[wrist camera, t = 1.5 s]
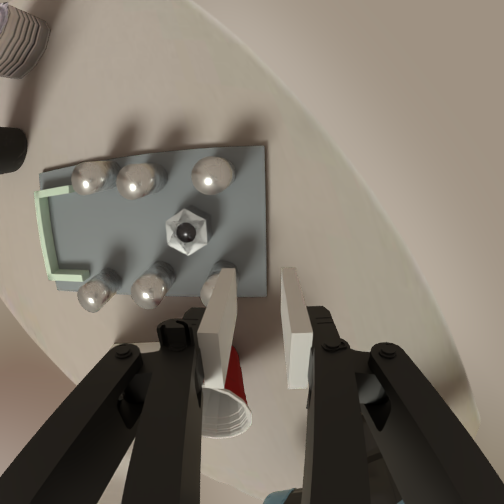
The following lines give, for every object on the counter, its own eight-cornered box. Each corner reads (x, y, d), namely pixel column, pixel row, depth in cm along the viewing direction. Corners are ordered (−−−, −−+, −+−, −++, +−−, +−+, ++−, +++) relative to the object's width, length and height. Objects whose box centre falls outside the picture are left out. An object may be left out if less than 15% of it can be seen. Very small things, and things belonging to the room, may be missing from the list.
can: (23, 23, 24) (-19, 8, 13) (61, 17, 25) (16, -6, 13) (-1, 80, 27) (-47, 74, 16) (33, 81, 28) (-20, 70, 17)
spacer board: (266, 294, 36) (266, 296, 36) (60, 288, 38) (57, 290, 37) (264, 146, 31) (264, 145, 30) (42, 173, 33) (39, 173, 32)
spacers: (240, 295, 36) (236, 320, 30) (102, 292, 37) (81, 311, 31) (235, 148, 31) (228, 144, 25) (85, 165, 32) (57, 167, 26)
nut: (212, 247, 34) (208, 255, 31) (176, 248, 34) (168, 256, 31) (210, 203, 33) (205, 207, 30) (172, 205, 33) (164, 209, 30)
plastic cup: (168, 359, 40) (144, 415, 29) (204, 310, 38) (183, 367, 26) (229, 392, 42) (220, 452, 30) (270, 350, 39) (272, 413, 28)
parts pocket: (90, 276, 36) (82, 281, 34) (56, 275, 36) (48, 280, 34) (76, 183, 32) (68, 185, 30) (42, 190, 33) (33, 191, 31)
